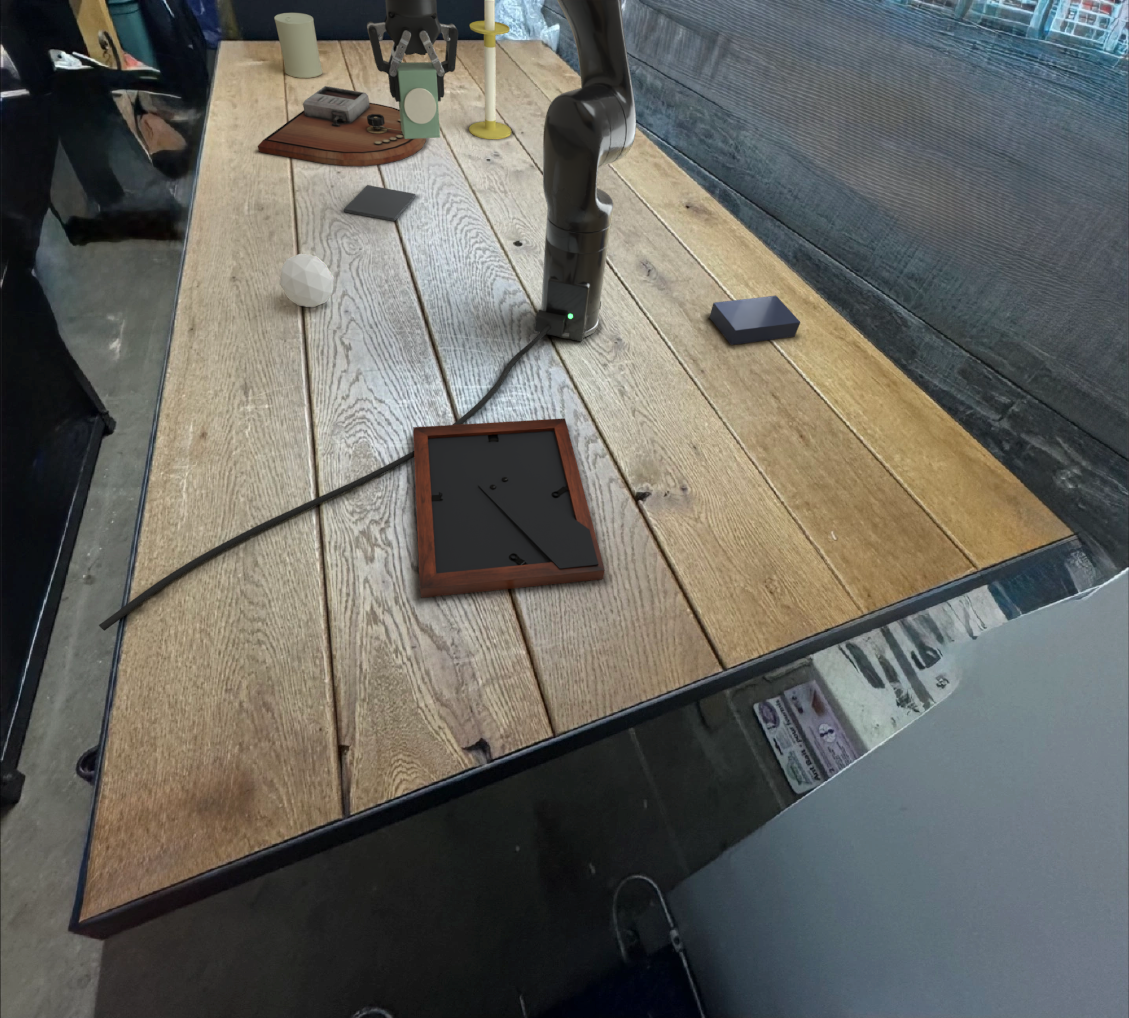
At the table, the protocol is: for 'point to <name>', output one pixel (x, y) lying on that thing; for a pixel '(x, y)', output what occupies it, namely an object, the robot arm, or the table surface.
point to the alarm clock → (418, 100)
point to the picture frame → (501, 508)
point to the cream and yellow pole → (490, 75)
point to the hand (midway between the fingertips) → (417, 99)
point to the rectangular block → (754, 319)
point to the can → (298, 45)
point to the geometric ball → (306, 280)
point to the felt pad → (380, 203)
